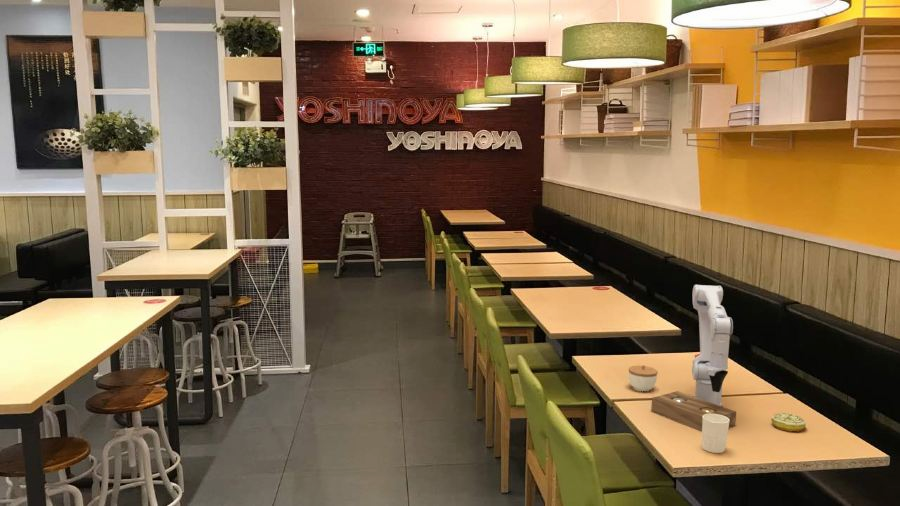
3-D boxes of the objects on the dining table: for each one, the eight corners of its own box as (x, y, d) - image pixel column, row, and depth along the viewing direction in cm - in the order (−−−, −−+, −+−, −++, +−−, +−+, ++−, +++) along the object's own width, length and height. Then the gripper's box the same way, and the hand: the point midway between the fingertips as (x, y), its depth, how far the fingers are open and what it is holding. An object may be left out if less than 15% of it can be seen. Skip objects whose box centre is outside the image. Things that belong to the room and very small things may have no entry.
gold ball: (705, 419, 251) (706, 407, 251) (715, 423, 248) (716, 410, 247) (698, 422, 249) (699, 409, 248) (708, 425, 246) (709, 413, 245)
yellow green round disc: (809, 427, 249) (810, 416, 248) (799, 436, 241) (800, 425, 240) (777, 419, 256) (778, 408, 255) (766, 427, 248) (767, 416, 247)
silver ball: (677, 409, 261) (677, 396, 260) (686, 412, 258) (687, 400, 257) (669, 411, 259) (670, 398, 258) (679, 414, 256) (679, 402, 255)
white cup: (695, 443, 232) (698, 413, 230) (719, 443, 233) (722, 413, 231) (706, 454, 224) (709, 423, 223) (731, 454, 225) (734, 422, 223)
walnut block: (676, 404, 267) (677, 390, 267) (735, 425, 248) (736, 411, 247) (651, 411, 259) (652, 397, 259) (709, 434, 240) (710, 419, 239)
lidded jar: (623, 389, 282) (624, 366, 280) (633, 382, 290) (635, 359, 289) (650, 395, 276) (652, 371, 274) (660, 388, 284) (661, 365, 283)
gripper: (714, 346, 257) (711, 383, 259) (700, 354, 245) (697, 393, 247) (735, 350, 253) (731, 388, 254) (721, 358, 241) (718, 398, 243)
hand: (716, 391), depth 251 cm, fingers closed
